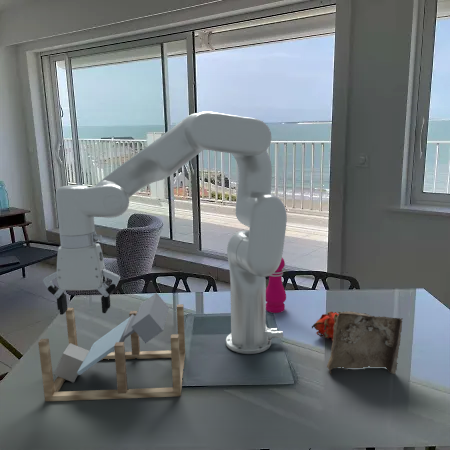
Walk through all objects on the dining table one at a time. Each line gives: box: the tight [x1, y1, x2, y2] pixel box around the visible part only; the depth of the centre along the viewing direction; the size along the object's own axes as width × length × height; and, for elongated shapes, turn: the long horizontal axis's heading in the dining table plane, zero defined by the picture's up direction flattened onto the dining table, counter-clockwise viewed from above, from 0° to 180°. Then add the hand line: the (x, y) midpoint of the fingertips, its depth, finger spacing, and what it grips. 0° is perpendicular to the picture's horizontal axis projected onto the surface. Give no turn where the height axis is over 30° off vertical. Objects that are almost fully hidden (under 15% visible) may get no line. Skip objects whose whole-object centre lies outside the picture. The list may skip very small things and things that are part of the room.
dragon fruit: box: [311, 311, 342, 343], centre depth 117 cm, size 8×8×12 cm
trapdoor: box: [77, 292, 170, 376], centre depth 99 cm, size 21×15×5 cm
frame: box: [38, 303, 186, 402], centre depth 99 cm, size 30×19×14 cm, turn 92°
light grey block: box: [53, 343, 90, 383], centre depth 100 cm, size 5×5×6 cm
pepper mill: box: [266, 257, 287, 314], centre depth 136 cm, size 7×7×20 cm
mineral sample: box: [326, 310, 404, 375], centre depth 99 cm, size 17×4×15 cm, turn 88°
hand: (84, 311), depth 97 cm, fingers open, 9 cm apart
